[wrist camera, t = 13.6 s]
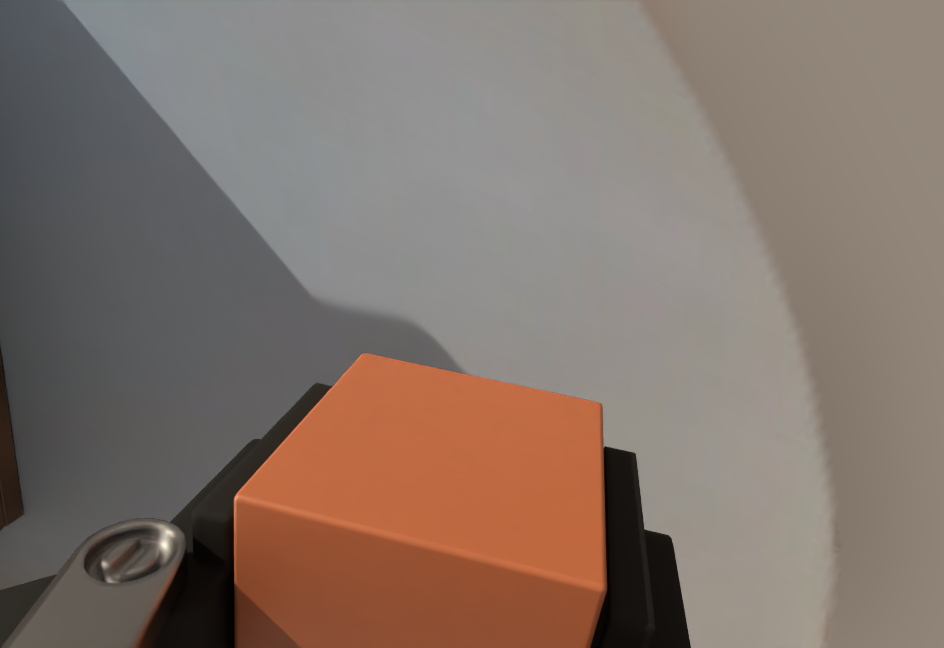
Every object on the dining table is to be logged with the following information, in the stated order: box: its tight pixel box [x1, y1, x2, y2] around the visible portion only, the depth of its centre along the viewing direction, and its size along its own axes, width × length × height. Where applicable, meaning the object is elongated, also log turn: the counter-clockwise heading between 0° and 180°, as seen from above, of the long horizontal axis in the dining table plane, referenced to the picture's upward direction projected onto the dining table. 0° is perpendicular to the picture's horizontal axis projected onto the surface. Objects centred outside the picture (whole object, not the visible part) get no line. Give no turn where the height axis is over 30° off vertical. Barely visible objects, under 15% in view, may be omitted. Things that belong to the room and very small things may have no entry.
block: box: [234, 353, 607, 648], centre depth 10 cm, size 4×4×4 cm
